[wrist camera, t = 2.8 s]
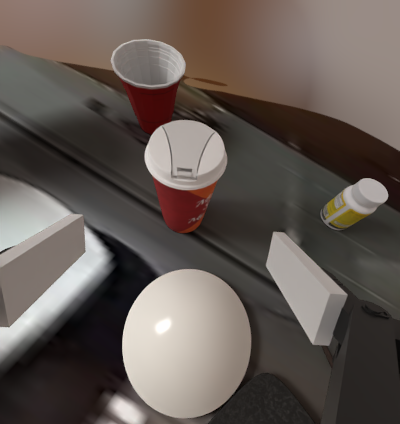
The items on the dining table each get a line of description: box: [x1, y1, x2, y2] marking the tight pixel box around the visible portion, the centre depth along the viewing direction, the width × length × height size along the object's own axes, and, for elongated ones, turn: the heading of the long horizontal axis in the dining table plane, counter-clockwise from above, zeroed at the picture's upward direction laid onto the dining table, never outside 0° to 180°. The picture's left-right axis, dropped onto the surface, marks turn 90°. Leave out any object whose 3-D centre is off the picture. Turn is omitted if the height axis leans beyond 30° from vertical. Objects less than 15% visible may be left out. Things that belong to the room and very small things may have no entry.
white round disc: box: [122, 269, 251, 418], centre depth 26 cm, size 15×15×1 cm
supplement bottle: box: [320, 178, 388, 230], centre depth 32 cm, size 5×5×8 cm
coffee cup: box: [145, 120, 227, 233], centre depth 27 cm, size 8×8×15 cm
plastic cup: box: [111, 39, 186, 134], centre depth 37 cm, size 11×11×12 cm
